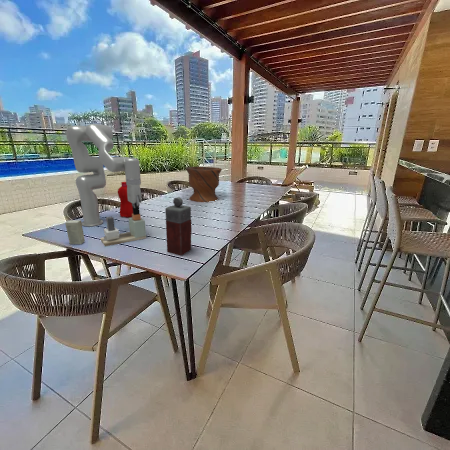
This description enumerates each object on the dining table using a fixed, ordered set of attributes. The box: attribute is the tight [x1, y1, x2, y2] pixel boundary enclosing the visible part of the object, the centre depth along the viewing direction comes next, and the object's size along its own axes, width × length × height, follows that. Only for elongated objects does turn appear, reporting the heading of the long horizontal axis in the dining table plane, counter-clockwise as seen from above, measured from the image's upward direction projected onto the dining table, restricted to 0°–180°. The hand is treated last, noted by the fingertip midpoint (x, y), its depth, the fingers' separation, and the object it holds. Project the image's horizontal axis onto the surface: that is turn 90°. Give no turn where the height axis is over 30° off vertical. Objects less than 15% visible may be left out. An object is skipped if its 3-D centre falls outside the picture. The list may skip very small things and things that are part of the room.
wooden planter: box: [185, 166, 223, 203], centre depth 239 cm, size 34×35×29 cm
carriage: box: [103, 216, 120, 240], centre depth 134 cm, size 7×6×12 cm
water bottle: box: [117, 181, 133, 219], centre depth 177 cm, size 9×11×25 cm
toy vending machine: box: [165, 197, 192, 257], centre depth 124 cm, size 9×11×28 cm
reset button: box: [131, 213, 142, 221], centre depth 140 cm, size 4×4×3 cm
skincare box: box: [64, 219, 86, 245], centre depth 131 cm, size 6×4×12 cm
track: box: [99, 231, 147, 247], centre depth 139 cm, size 10×22×4 cm, turn 127°
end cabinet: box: [128, 217, 147, 238], centre depth 142 cm, size 10×6×9 cm, turn 37°
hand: (136, 214), depth 140 cm, fingers closed
